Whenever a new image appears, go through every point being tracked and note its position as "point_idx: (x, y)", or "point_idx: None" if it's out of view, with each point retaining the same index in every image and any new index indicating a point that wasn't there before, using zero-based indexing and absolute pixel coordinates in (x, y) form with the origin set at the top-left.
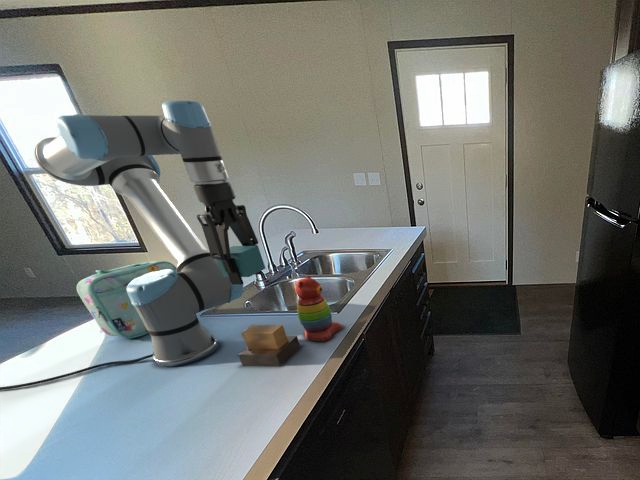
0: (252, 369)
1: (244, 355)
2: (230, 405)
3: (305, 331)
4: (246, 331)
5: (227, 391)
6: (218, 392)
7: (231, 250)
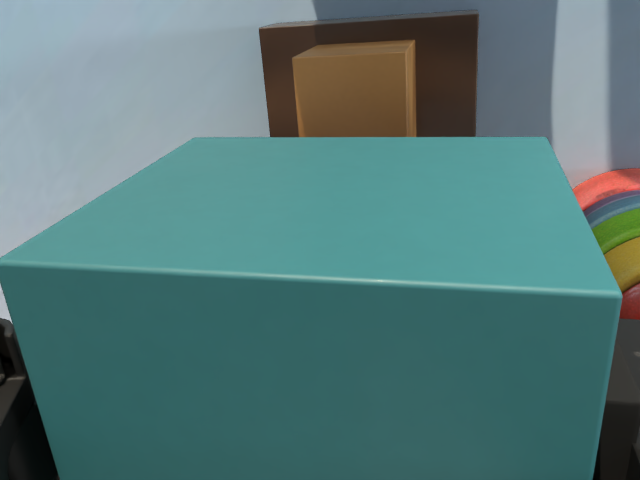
0: (256, 95)
1: (263, 65)
2: (50, 171)
3: (585, 203)
4: (313, 76)
5: (106, 100)
6: (92, 68)
7: (214, 468)
